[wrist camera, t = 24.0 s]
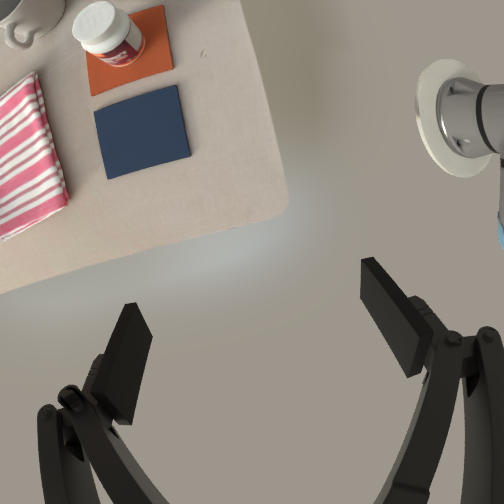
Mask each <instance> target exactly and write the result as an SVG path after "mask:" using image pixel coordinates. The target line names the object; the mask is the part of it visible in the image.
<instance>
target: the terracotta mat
mask: <svg viewBox="0 0 504 504" xmlns="http://www.w3.org/2000/svg"><path fill="white" fill-rule="evenodd" d="M128 16H129V17H130V19H131V20H132V21H133V22H134V24H135V25H136V26H137V27H138V29H139V30H140V31H141V32H142V34H143V36H144V38H145V46H144V49H143V52H142V53H141V55H140V56H139V57H138V58H137V59H136V60H135V61H134V62H132V63H131V64H129V65H126V66H122V67H115V66H111V65H109V64H108V63H106V62H104V61H102V60H101V59H99V58H98V57H96V56H94V55H93V54H91V53H89V52H88V51H86V57H87V67H88V76H89V84H90V91H91V96H95V95H97V94H99V93H102V92H104V91H107V90H110V89H112V88H115V87H118V86H120V85H123V84H126V83H129V82H132V81H135V80H138V79H141V78H144V77H147V76H150V75H154V74H157V73H161V72H164V71H168V70H171V69H173V63H172V57H171V51H170V45H169V39H168V33H167V27H166V21H165V14H164V7H163V5H159V6H156V7H152V8H149V9H146V10H143V11H140V12H137V13H134V14H131V15H128Z"/></svg>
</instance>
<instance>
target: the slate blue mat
mask: <svg viewBox="0 0 504 504" xmlns="http://www.w3.org/2000/svg"><path fill="white" fill-rule="evenodd" d="M94 117H95V123H96V128H97V133H98V138H99V143H100V148H101V153H102V157H103V162H104V166H105V170H106V175H107V179H108V180H109V179H112V178H115V177H118V176H121V175H124V174H128V173H131V172H134V171H138V170H141V169H145V168H148V167H152V166H155V165H159V164H163V163H167V162H170V161H174V160H178V159H182V158H186V157H190V156H191V155H190V151H189V146H188V141H187V136H186V131H185V126H184V121H183V116H182V111H181V106H180V101H179V96H178V91H177V86H176V85H174V86H170V87H166V88H163V89H159V90H156V91H153V92H149V93H146V94H143V95H140V96H137V97H133V98H130V99H128V100H125V101H122V102H119V103H116V104H113V105H111V106H108V107H105V108H103V109H100V110H98V111H95V112H94Z"/></svg>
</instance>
